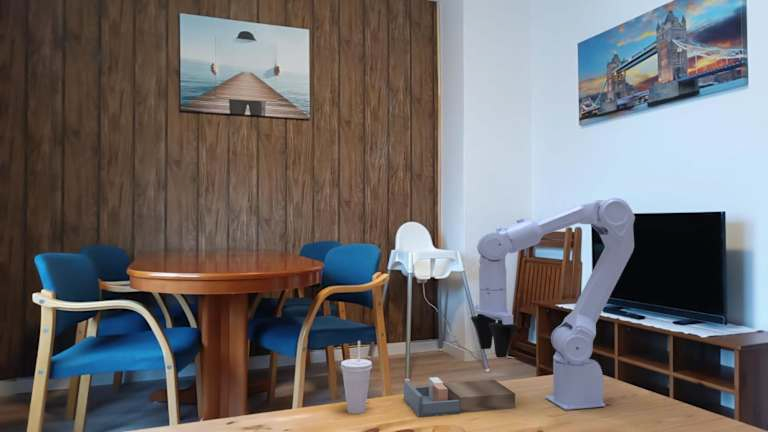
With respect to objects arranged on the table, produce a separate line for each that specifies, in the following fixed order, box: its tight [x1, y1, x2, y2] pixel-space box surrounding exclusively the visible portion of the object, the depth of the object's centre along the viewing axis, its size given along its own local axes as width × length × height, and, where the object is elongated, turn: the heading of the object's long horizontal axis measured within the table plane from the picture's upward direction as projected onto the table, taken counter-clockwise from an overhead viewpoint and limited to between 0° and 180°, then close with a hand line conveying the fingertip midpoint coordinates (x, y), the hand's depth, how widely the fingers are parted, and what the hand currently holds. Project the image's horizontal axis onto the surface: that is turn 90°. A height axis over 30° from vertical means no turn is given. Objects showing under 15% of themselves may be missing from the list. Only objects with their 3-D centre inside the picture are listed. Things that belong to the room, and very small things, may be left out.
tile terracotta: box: [432, 383, 448, 402], centre depth 107 cm, size 4×4×2 cm
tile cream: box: [428, 376, 444, 399], centre depth 111 cm, size 4×4×2 cm
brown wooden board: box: [443, 379, 516, 414], centre depth 111 cm, size 12×10×3 cm
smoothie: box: [340, 340, 373, 415], centre depth 106 cm, size 6×6×14 cm
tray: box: [403, 379, 461, 418], centre depth 109 cm, size 8×11×4 cm
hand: (493, 352), depth 112 cm, fingers open, 7 cm apart
